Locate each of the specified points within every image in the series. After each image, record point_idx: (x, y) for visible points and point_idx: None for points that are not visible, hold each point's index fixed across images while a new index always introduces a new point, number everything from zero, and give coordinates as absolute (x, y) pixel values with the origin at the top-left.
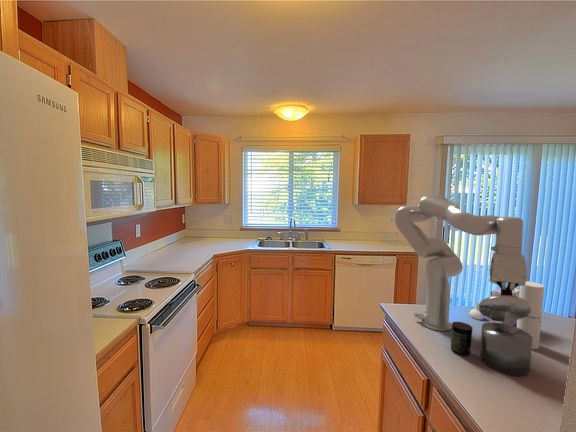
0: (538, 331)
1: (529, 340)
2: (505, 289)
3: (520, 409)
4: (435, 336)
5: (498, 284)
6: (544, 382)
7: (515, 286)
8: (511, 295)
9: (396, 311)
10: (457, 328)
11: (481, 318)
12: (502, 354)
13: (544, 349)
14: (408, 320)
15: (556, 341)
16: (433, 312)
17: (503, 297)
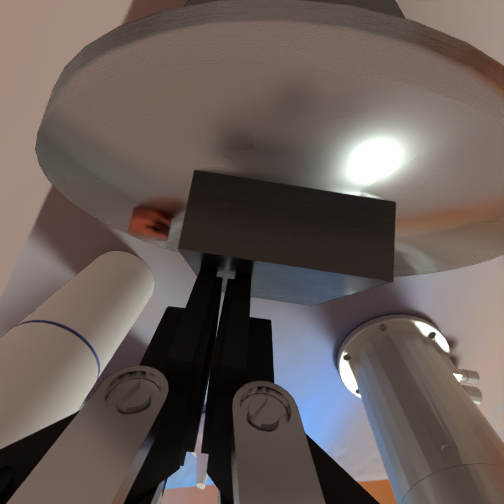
0: (63, 286)
1: (198, 1)
2: (233, 395)
3: None
4: (444, 274)
5: (360, 500)
6: (185, 3)
7: (40, 447)
8: (167, 322)
9: (494, 428)
10: None
11: (203, 415)
12: None
13: (79, 255)
14: (485, 373)
15: (19, 314)
16: (456, 381)
17: (465, 55)
